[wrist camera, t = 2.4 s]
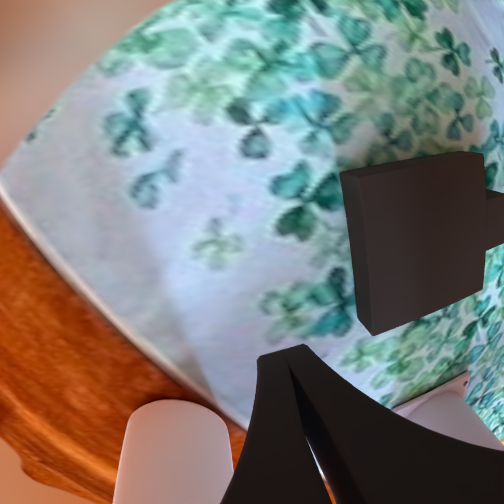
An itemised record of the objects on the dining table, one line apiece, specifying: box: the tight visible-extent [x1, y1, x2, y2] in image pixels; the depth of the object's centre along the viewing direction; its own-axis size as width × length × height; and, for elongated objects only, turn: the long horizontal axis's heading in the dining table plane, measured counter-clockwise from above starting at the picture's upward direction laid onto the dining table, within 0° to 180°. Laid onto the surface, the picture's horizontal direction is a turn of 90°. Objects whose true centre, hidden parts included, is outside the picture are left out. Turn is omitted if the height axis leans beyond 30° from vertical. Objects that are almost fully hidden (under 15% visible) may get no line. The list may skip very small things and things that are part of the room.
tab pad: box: [340, 151, 504, 336], centre depth 15 cm, size 8×10×2 cm
